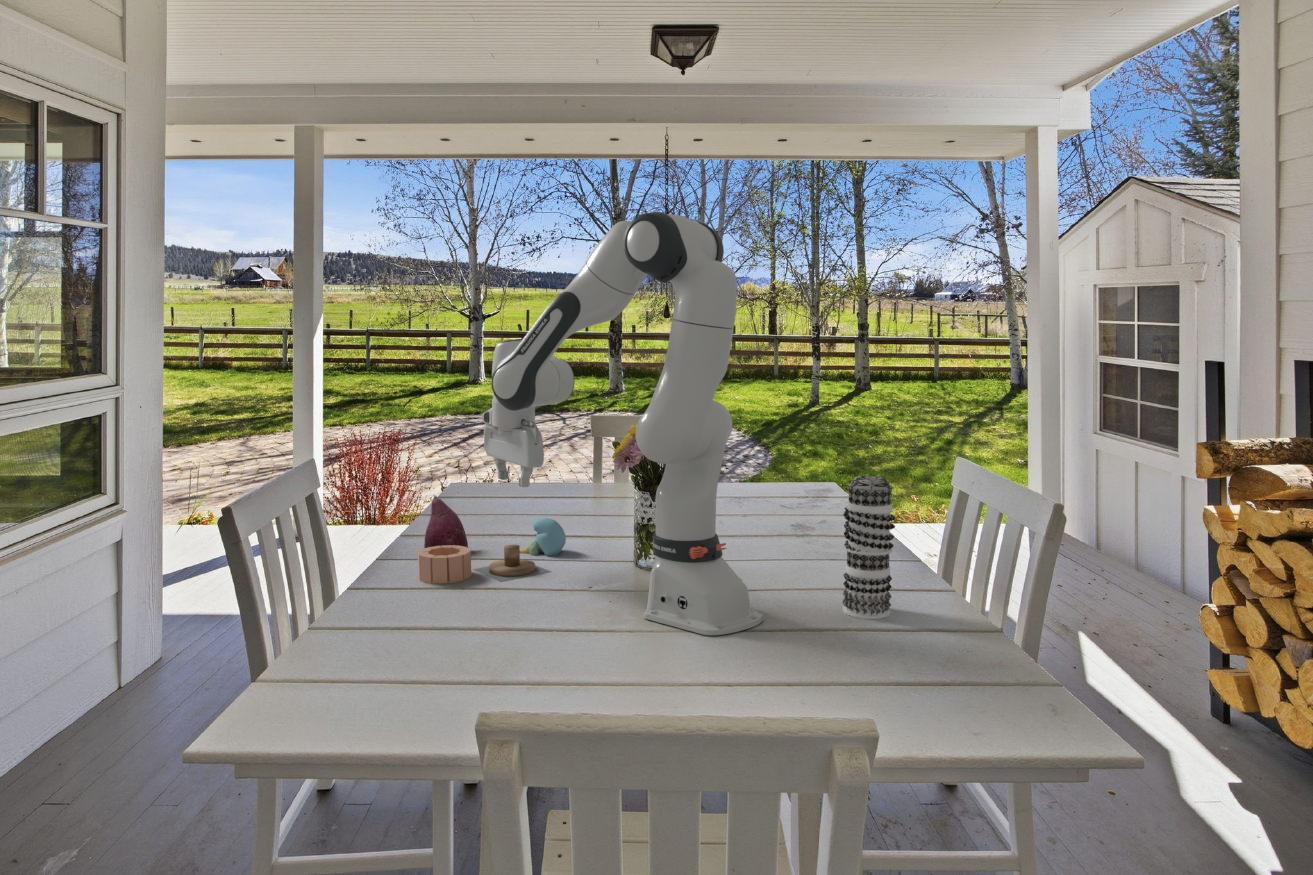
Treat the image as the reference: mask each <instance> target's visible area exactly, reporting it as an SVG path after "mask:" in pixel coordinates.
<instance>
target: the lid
mask: <svg viewBox="0 0 1313 875" xmlns="http://www.w3.org/2000/svg"><path fill="white" fill-rule="evenodd" d="M520 550H521V548H520V545H519V544H507V545H504V547H503V551H504V552H503V557H504V558H503V559H502V560H501V559H500V560H497V561H494V562H491V563H490V564H489V565H488V566H489V572H490V573H491V574H493V575H496V576H503V577H514V576H523V575H527V574H530V573H533V572H534V571H535V565H536V563H535V562H534V561H532V560H528V559H523V558H522V559H521V558H520V556H521V553H520Z"/></svg>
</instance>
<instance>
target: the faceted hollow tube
mask: <svg viewBox="0 0 1313 875" xmlns="http://www.w3.org/2000/svg"><path fill="white" fill-rule="evenodd" d="M417 577H418V579H419V581H420V582H424V583H429V584H451V583H457V582H462V581H466V580H467V579H469V578H471V577H472V551H471V549H470V548H469V547H468V548H467V547H464V546H458V545H457V546H456V545H442V546H434V547H428V548H422V549H420V550H418V551H417Z"/></svg>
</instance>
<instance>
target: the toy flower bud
mask: <svg viewBox="0 0 1313 875" xmlns="http://www.w3.org/2000/svg"><path fill="white" fill-rule="evenodd" d="M532 527H533V531H535V532H536V533H535V534H534V536H536V538H535V539H536V540H532V541H530V542H529V544H528V545H527V546H526V547H525V548H522V549H520V554H529V555H530V556H537V555H539V553H540V552H543V554H544V555H545V556H556V555H559V554H560V552H561V551H562V549H563V548H564V547H565V544H566V541H567V537H566V533H565V531H564V529H563V527H562V526H561V524H560V523H559V522H557V521H556V520H555V519H553V518H547V517H544V518H539V519H536V520H535V521H534V522H533V524H532Z"/></svg>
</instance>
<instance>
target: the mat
mask: <svg viewBox="0 0 1313 875" xmlns="http://www.w3.org/2000/svg"><path fill="white" fill-rule="evenodd" d="M473 571H476V572H478V573H480V574H482V575H484V576H487V577H489V578H490V579H493V580H496V581H498V582H501V583H502V582H507V581H513V580H517V579H522V578H523V579H524V578H528V577H532V576H538V575H544V574H548V573H552V571H551V570H548V569H545V567H544V568H543V567H540V566H538V565H536V564H535V571H534V572H533V573H530V574H527V575H523V576H514V577H503V576H496V575H493V574H491V573H490V572H489V565H488V566H483V567H479V568H473Z"/></svg>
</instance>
